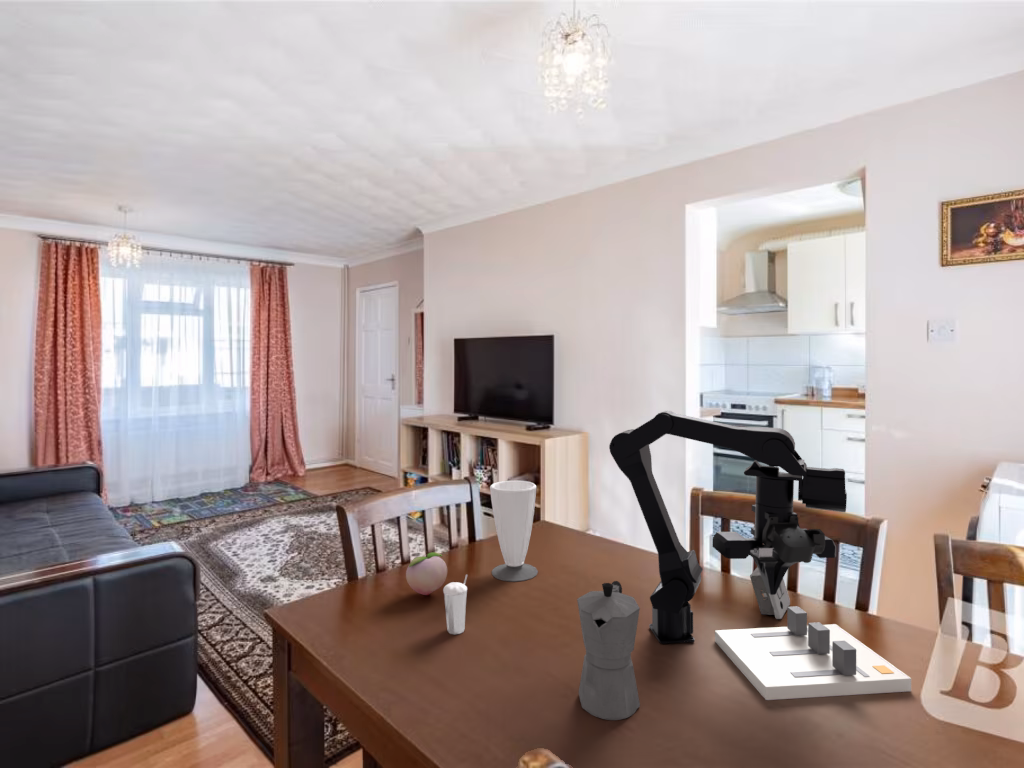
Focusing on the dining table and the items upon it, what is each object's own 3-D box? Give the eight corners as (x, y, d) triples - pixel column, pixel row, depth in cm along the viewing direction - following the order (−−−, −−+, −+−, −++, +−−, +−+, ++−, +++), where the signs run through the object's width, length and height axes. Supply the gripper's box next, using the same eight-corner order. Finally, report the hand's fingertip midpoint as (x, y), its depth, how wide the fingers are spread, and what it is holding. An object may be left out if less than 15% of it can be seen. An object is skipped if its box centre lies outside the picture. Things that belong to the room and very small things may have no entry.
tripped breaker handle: (843, 675, 81) (843, 650, 81) (832, 665, 84) (832, 641, 83) (856, 674, 81) (856, 649, 81) (844, 665, 84) (844, 640, 84)
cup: (538, 581, 124) (537, 490, 123) (490, 582, 124) (488, 491, 123) (537, 563, 135) (535, 479, 134) (492, 563, 135) (490, 480, 135)
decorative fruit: (428, 608, 111) (427, 561, 111) (400, 599, 115) (399, 554, 115) (456, 591, 119) (455, 547, 119) (428, 584, 123) (427, 542, 123)
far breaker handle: (796, 635, 93) (796, 613, 93) (787, 628, 96) (787, 606, 95) (807, 635, 93) (807, 612, 93) (798, 627, 96) (798, 606, 96)
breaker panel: (766, 700, 79) (766, 686, 79) (714, 641, 96) (714, 629, 96) (911, 691, 81) (911, 677, 80) (835, 634, 98) (835, 623, 97)
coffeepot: (633, 737, 72) (632, 607, 71) (566, 721, 75) (565, 597, 74) (647, 675, 86) (647, 566, 85) (591, 664, 89) (589, 559, 89)
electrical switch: (780, 621, 103) (775, 573, 103) (752, 616, 106) (748, 570, 106) (791, 604, 110) (786, 559, 110) (764, 600, 113) (759, 556, 114)
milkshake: (475, 628, 102) (474, 577, 102) (454, 639, 98) (453, 586, 98) (460, 620, 105) (459, 571, 105) (439, 631, 101) (438, 579, 101)
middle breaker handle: (818, 654, 87) (818, 630, 87) (808, 645, 90) (808, 622, 89) (829, 653, 87) (829, 629, 87) (819, 645, 90) (819, 622, 90)
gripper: (742, 518, 81) (740, 617, 81) (861, 517, 81) (857, 616, 82) (712, 498, 92) (710, 586, 93) (816, 498, 93) (813, 585, 93)
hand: (771, 593), depth 90 cm, fingers closed
